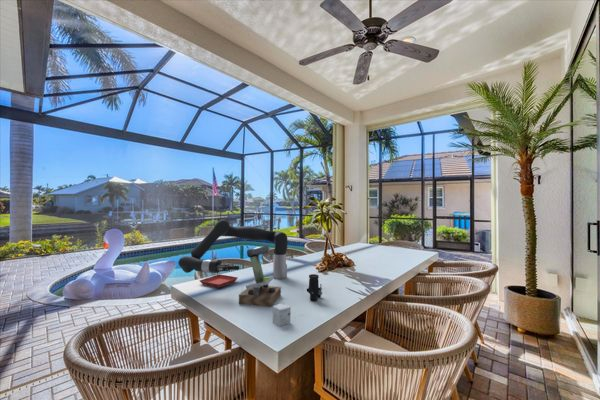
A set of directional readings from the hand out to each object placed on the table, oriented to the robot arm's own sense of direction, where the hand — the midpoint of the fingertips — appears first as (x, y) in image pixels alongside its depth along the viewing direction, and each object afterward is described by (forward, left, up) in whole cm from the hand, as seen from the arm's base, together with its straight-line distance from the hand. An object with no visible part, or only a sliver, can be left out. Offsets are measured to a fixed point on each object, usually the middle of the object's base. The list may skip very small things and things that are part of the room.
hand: (238, 267), depth 150 cm
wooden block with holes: (-10, +9, -17) cm, 22 cm away
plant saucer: (+5, -32, -18) cm, 37 cm away
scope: (-37, +22, -17) cm, 46 cm away
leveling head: (-12, +10, -9) cm, 18 cm away
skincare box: (-9, +40, -17) cm, 44 cm away
